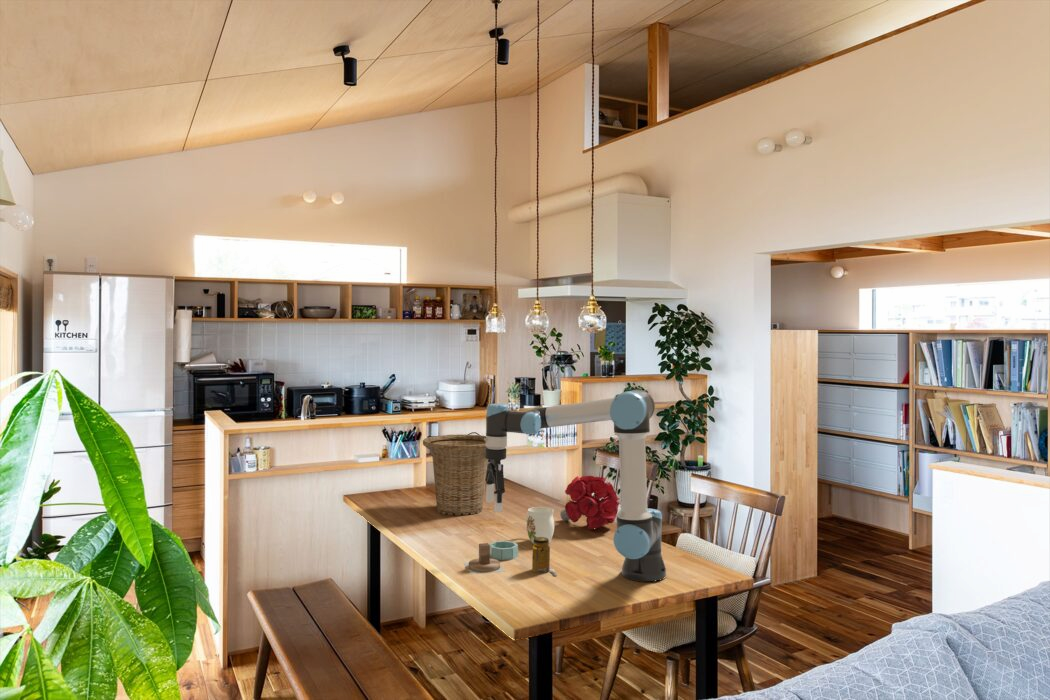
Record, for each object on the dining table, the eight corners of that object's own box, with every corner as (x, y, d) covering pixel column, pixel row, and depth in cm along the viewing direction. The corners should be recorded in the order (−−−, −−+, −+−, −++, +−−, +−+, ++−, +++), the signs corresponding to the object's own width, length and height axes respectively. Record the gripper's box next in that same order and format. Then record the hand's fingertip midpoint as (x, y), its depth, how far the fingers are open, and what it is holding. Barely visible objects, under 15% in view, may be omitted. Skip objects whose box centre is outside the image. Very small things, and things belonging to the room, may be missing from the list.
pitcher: (538, 534, 301) (538, 501, 301) (563, 545, 286) (563, 511, 286) (515, 538, 296) (516, 504, 295) (539, 549, 280) (540, 514, 280)
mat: (505, 573, 253) (505, 571, 253) (471, 576, 249) (471, 574, 249) (496, 562, 264) (496, 560, 264) (463, 565, 261) (464, 563, 261)
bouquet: (553, 543, 313) (600, 520, 294) (538, 490, 322) (582, 465, 303) (588, 537, 327) (635, 515, 308) (572, 487, 336) (617, 463, 317)
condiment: (530, 570, 257) (530, 536, 257) (554, 569, 258) (554, 535, 257) (532, 576, 250) (532, 542, 249) (557, 576, 250) (557, 541, 250)
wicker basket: (469, 523, 318) (470, 447, 317) (406, 513, 335) (407, 441, 334) (511, 507, 348) (511, 438, 347) (451, 498, 366) (451, 432, 365)
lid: (503, 570, 253) (503, 547, 253) (472, 573, 250) (472, 550, 250) (495, 561, 264) (495, 539, 263) (465, 563, 260) (465, 541, 260)
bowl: (520, 561, 267) (520, 547, 267) (493, 563, 264) (493, 549, 264) (512, 553, 276) (512, 540, 276) (487, 555, 273) (487, 542, 273)
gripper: (478, 441, 270) (476, 498, 270) (493, 453, 245) (491, 516, 246) (498, 441, 271) (496, 498, 272) (514, 453, 247) (512, 515, 248)
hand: (493, 507), depth 259 cm, fingers open, 13 cm apart
